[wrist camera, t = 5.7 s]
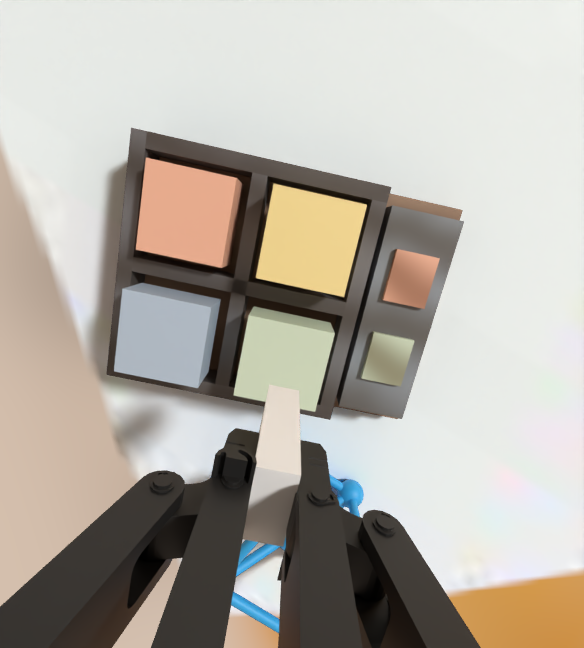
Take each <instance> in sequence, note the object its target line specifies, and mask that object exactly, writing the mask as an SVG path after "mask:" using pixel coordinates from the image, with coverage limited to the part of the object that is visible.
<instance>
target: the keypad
mask: <svg viewBox="0 0 584 648" xmlns="http://www.w3.org/2000/svg"><path fill="white" fill-rule="evenodd" d="M146 158H150V159H155V160H159V161H164V162H168V163H172V164H177V165H181V166H186V167H190V168H195V169H199V170H203V171H208V172H212V173H217V174H221V175H226V176H230V177H234V178H237V179H238V180H239V181H240V182H241V183H242V184H243V191H242V197H241V202H240V208H239V214H238V220H237V226H236V231H235V237H234V243H233V249H232V255H231V260H230V265H228V266H225V267H223V268H219V267H215V266H210V265H205V264H201V263H196V262H191V261H187V260H182V259H178V258H173V257H168V256H164V255H159V254H154V253H150V252H145V251H140V250H136V243H137V234H138V225H139V216H140V207H141V198H142V189H143V180H144V170H145V161H146ZM274 184H278V185H282V186H286V187H291V188H295V189H300V190H304V191H309V192H313V193H317V194H322V195H326V196H331V197H335V198H340V199H344V200H348V201H353V202H357V203H362V204H366V205H367V207H366V211H365V215H364V219H363V223H362V227H361V231H360V235H359V239H358V243H357V247H356V251H355V255H354V259H353V263H352V267H351V271H350V275H349V279H348V283H347V287H346V291H345V295H344V297H341V296H337V295H332V294H327V293H323V292H318V291H314V290H309V289H304V288H300V287H295V286H290V285H286V284H281V283H276V282H272V281H267V280H262V279H258V278H256V274H257V269H258V263H259V258H260V253H261V248H262V242H263V237H264V232H265V227H266V221H267V216H268V211H269V206H270V200H271V195H272V190H273V185H274ZM390 190H391V187H388V186H384V185H379V184H375V183H371V182H366V181H362V180H357V179H353V178H349V177H344V176H340V175H336V174H331V173H327V172H322V171H318V170H314V169H309V168H305V167H301V166H296V165H292V164H287V163H283V162H279V161H274V160H270V159H266V158H261V157H257V156H252V155H248V154H244V153H239V152H235V151H231V150H226V149H222V148H218V147H213V146H209V145H204V144H200V143H196V142H191V141H187V140H183V139H178V138H174V137H169V136H165V135H161V134H156V133H152V132H148V131H143V130H139V129H134V128H131V135H130V145H129V155H128V165H127V175H126V185H125V195H124V205H123V215H122V225H121V235H120V245H119V255H118V265H117V275H116V285H115V295H114V305H113V315H112V325H111V336H110V346H109V356H108V366H107V375H111V376H116V377H121V378H126V379H131V380H136V381H141V382H146V383H151V384H156V385H161V386H166V387H171V388H176V389H180V390H185V391H190V392H195V393H200V394H205V395H210V396H215V397H220V398H225V399H230V400H235V401H240V402H245V403H250V404H255V405H260V406H265V402H263V401H259V400H254V399H249V398H244V397H239V396H234V389H235V384H236V379H237V374H238V368H239V363H240V358H241V353H242V347H243V342H244V337H245V332H246V326H247V321H248V316H249V314H250V312H251V310H252V309H253V307H259V308H264V309H269V310H273V311H278V312H283V313H287V314H292V315H297V316H302V317H306V318H311V319H316V320H320V321H325V322H330V323H331V325H332V328H333V330H334V333H335V335H334V339H333V343H332V347H331V351H330V355H329V359H328V363H327V367H326V371H325V375H324V379H323V383H322V387H321V391H320V395H319V399H318V402H317V406H316V410H315V412H313V411H308V410H303V409H300V414H305V415H310V416H315V417H320V418H324V419H329V420H330V418H331V414H332V411H333V407H334V406H336V407H341V408H346V409H351V410H356V411H360V412H365V413H370V414H375V415H380V416H385V417H390V418H395V419H398V418H400V419H402V417H403V414H404V411H405V408H406V404H407V401H408V398H409V395H410V392H411V388H412V385H413V382H414V379H415V376H416V373H417V369H418V366H419V363H420V360H421V357H422V354H423V350H424V347H425V344H426V341H427V338H428V334H429V331H430V328H431V325H432V322H433V319H434V315H435V312H436V309H437V306H438V303H439V299H440V296H441V293H442V290H443V287H444V284H445V280H446V277H447V274H448V271H449V268H450V265H451V261H452V258H453V255H454V252H455V249H456V245H457V242H458V239H459V236H460V233H461V230H462V226H463V223H464V221H459V220H460V217H461V214H462V210H460V209H455V208H451V207H446V206H442V205H438V204H433V203H429V202H424V201H420V200H416V199H411V198H407V197H403V196H398V195H394V194H390ZM140 283H146V284H151V285H156V286H160V287H165V288H170V289H174V290H179V291H184V292H189V293H193V294H198V295H203V296H207V297H212V298H217V299H221V301H220V307H219V313H218V319H217V324H216V330H215V336H214V342H213V348H212V354H211V360H210V366H209V371H208V373H207V375H206V376H205V378H204V379H203V381H202V383H201V384H200V386H199V387H198V388H194V387H189V386H184V385H179V384H174V383H169V382H164V381H159V380H155V379H150V378H145V377H140V376H135V375H130V374H125V373H120V372H115V371H114V365H115V356H116V346H117V336H118V327H119V317H120V308H121V298H122V289H123V288H126V287H130V286H133V285H136V284H140Z"/></svg>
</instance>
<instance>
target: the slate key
mask: <svg viewBox="0 0 584 648" xmlns="http://www.w3.org/2000/svg"><path fill="white" fill-rule="evenodd" d="M220 301H221V299H217V298H212V297H207V296H203V295H198V294H193V293H189V292H184V291H179V290H174V289H170V288H165V287H160V286H156V285H151V284H146V283H140V284H136V285H133V286H130V287H126V288H123V289H122V298H121V308H120V317H119V327H118V336H117V346H116V356H115V365H114V371H115V372H120V373H125V374H130V375H135V376H140V377H145V378H150V379H155V380H159V381H164V382H169V383H174V384H179V385H184V386H189V387H194V388H198V387H199V386H200V384H201V383H202V381H203V379H204V378H205V376H206V375H207V373H208V371H209V366H210V360H211V354H212V348H213V342H214V336H215V330H216V324H217V319H218V313H219V307H220Z"/></svg>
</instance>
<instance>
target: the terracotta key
mask: <svg viewBox="0 0 584 648" xmlns="http://www.w3.org/2000/svg"><path fill="white" fill-rule="evenodd" d="M242 191H243V184H242V183H241V182H240V181H239V180H238V179H237V178H234V177H230V176H226V175H221V174H217V173H212V172H208V171H203V170H199V169H195V168H190V167H186V166H181V165H177V164H172V163H168V162H164V161H159V160H155V159H150V158H146V161H145V170H144V180H143V189H142V198H141V207H140V216H139V225H138V234H137V243H136V250H140V251H145V252H150V253H154V254H159V255H164V256H168V257H173V258H178V259H182V260H187V261H191V262H196V263H201V264H205V265H210V266H215V267H219V268H223V267H225V266H228V265H230V260H231V255H232V249H233V243H234V237H235V231H236V226H237V220H238V214H239V208H240V202H241V197H242Z"/></svg>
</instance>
